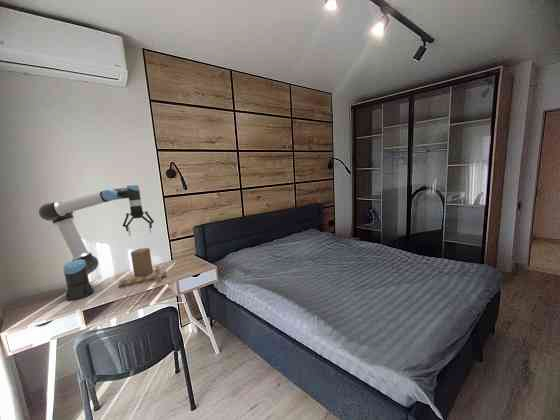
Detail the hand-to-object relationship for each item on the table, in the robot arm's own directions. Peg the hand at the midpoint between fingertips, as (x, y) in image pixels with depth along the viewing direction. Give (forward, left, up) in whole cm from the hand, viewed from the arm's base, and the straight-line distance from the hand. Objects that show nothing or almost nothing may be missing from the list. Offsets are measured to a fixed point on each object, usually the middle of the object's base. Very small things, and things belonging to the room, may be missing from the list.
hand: (140, 234), depth 189 cm
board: (-2, -3, -35) cm, 35 cm away
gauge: (+8, -8, -35) cm, 36 cm away
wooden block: (-3, +14, -35) cm, 38 cm away
